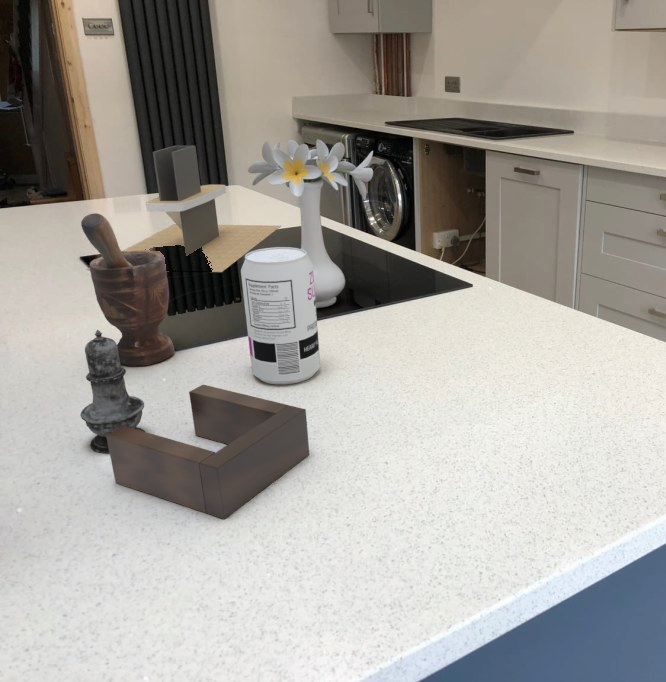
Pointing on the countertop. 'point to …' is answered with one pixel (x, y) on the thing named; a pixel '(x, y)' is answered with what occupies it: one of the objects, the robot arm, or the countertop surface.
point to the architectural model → (195, 213)
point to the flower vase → (313, 200)
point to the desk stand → (207, 466)
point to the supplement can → (281, 314)
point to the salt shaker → (108, 393)
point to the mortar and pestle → (130, 294)
